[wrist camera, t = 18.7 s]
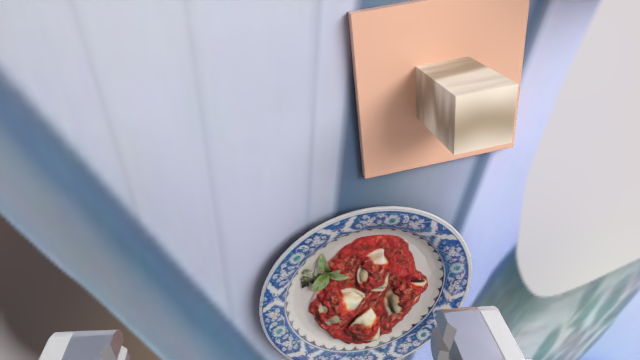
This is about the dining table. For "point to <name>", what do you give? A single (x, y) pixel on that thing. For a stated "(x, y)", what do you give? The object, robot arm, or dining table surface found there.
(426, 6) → the terracotta tile
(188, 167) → the dining table surface
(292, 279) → the ceramic plate
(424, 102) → the ash block
